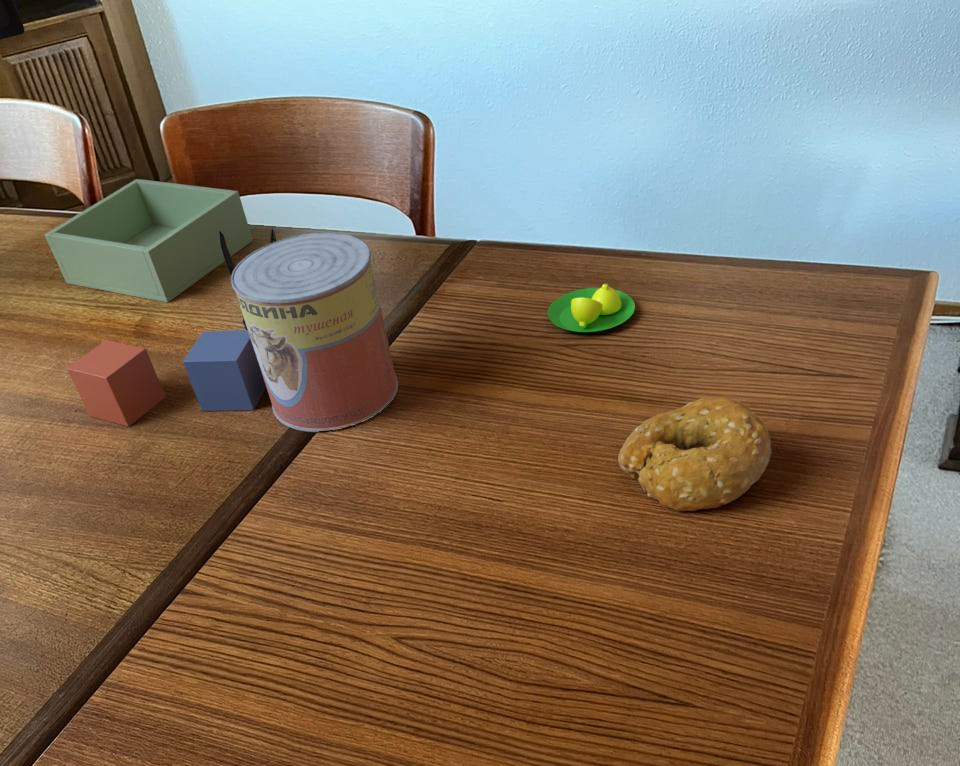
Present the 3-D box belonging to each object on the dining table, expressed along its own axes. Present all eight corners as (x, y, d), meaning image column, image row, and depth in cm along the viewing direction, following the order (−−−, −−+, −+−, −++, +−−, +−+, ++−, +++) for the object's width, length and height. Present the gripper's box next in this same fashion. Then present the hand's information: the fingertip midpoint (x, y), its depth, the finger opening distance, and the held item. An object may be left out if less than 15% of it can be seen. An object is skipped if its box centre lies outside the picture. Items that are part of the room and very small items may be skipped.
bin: (66, 283, 108) (43, 234, 104) (153, 226, 116) (136, 178, 112) (167, 302, 102) (148, 251, 98) (253, 240, 110) (238, 190, 106)
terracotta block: (89, 416, 88) (65, 368, 85) (127, 387, 91) (106, 339, 87) (128, 427, 86) (106, 378, 83) (166, 397, 89) (145, 348, 85)
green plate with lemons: (621, 341, 86) (620, 312, 84) (536, 334, 88) (533, 305, 86) (645, 297, 90) (645, 268, 88) (563, 291, 93) (561, 263, 91)
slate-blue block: (201, 411, 86) (182, 361, 83) (220, 380, 90) (202, 331, 86) (253, 410, 85) (236, 360, 82) (271, 379, 89) (255, 329, 85)
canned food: (246, 411, 85) (201, 282, 77) (332, 349, 91) (299, 223, 82) (338, 446, 80) (301, 312, 71) (423, 378, 86) (399, 246, 77)
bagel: (649, 422, 77) (650, 369, 73) (786, 452, 72) (794, 397, 69) (595, 496, 71) (593, 443, 68) (739, 533, 67) (745, 478, 63)
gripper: (-150, -234, 77) (-38, 13, 89) (-173, -224, 65) (-39, 59, 77) (-55, -254, 78) (43, -6, 90) (-60, -247, 66) (54, 36, 78)
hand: (5, 24), depth 84 cm, fingers open, 9 cm apart
